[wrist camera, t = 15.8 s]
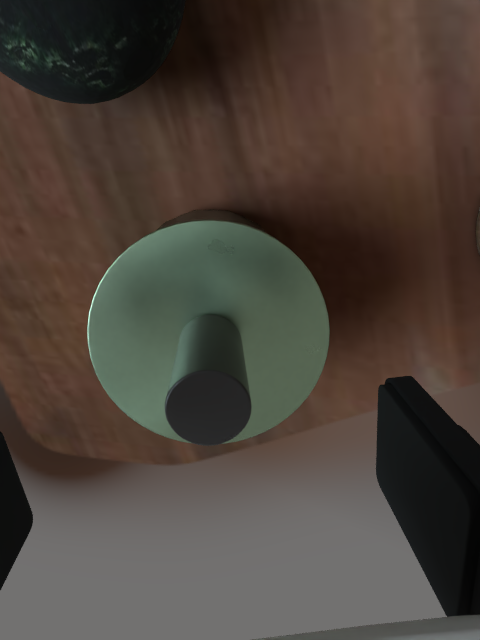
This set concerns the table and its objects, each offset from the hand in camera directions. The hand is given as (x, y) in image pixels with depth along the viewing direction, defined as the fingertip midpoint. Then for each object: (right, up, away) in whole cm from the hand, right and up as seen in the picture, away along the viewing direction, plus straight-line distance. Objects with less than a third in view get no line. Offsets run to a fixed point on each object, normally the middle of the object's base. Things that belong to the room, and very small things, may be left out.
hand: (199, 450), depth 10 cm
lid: (0, +2, +9) cm, 9 cm away
